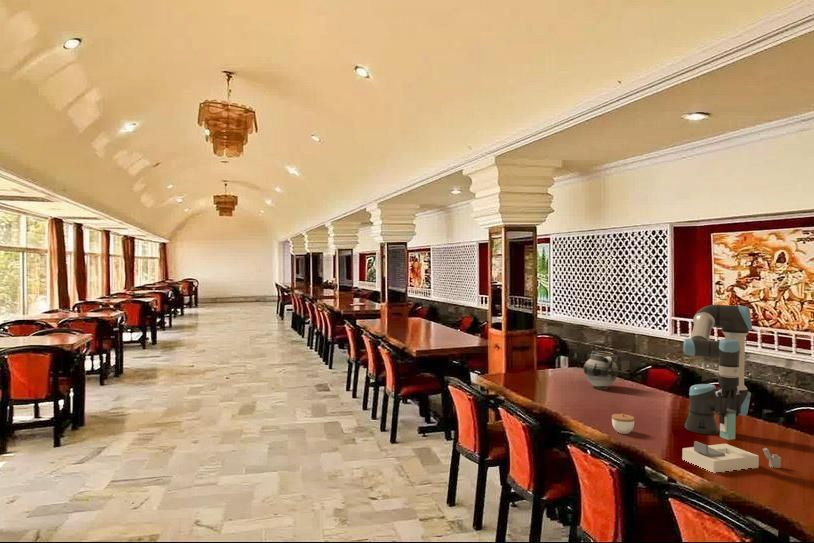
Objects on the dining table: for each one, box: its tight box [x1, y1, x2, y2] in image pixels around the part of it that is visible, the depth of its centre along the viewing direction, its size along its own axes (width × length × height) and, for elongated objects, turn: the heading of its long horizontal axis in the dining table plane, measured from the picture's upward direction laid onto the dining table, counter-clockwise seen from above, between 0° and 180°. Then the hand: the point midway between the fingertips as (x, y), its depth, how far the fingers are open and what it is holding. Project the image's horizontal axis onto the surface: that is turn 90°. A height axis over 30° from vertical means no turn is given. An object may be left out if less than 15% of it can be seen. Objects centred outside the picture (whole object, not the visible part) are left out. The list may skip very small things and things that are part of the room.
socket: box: [681, 443, 760, 474], centre depth 229 cm, size 24×16×5 cm, turn 108°
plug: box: [719, 408, 737, 441], centre depth 230 cm, size 4×4×12 cm
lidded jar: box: [611, 413, 636, 435], centre depth 272 cm, size 11×11×9 cm
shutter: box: [693, 440, 725, 457], centre depth 227 cm, size 9×8×4 cm
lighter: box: [762, 447, 782, 469], centre depth 226 cm, size 7×2×8 cm, turn 95°
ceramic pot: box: [583, 350, 620, 390], centre depth 372 cm, size 29×23×25 cm
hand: (727, 430), depth 230 cm, fingers closed on plug, 4 cm apart
